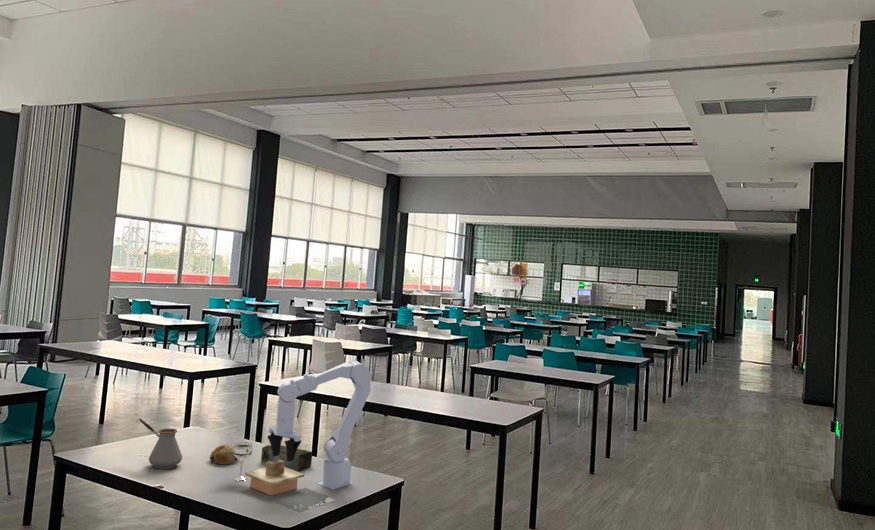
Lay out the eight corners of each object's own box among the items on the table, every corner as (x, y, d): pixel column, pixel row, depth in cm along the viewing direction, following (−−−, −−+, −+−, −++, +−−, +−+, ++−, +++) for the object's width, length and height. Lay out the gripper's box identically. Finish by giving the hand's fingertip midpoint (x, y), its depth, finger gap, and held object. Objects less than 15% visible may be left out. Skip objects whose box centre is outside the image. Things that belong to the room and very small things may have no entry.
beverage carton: (274, 458, 253) (275, 441, 253) (312, 467, 244) (313, 450, 244) (260, 462, 245) (261, 445, 246) (298, 472, 237) (300, 454, 237)
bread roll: (227, 475, 239) (237, 456, 239) (203, 461, 239) (214, 443, 239) (236, 467, 248) (246, 449, 249) (213, 454, 249) (223, 436, 249)
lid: (278, 467, 226) (279, 453, 226) (304, 476, 218) (305, 462, 218) (244, 474, 215) (245, 460, 215) (270, 485, 207) (271, 470, 207)
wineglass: (254, 477, 227) (256, 443, 227) (243, 482, 220) (246, 448, 221) (237, 474, 229) (240, 441, 229) (226, 479, 222) (229, 445, 222)
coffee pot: (188, 465, 236) (191, 424, 236) (163, 472, 225) (166, 430, 226) (148, 454, 245) (151, 415, 245) (122, 461, 235) (125, 420, 235)
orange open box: (276, 481, 224) (277, 468, 224) (296, 489, 217) (297, 476, 217) (250, 488, 215) (251, 475, 215) (270, 497, 209) (271, 483, 209)
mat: (305, 489, 218) (305, 487, 218) (337, 501, 209) (337, 500, 209) (267, 500, 206) (267, 498, 206) (299, 513, 196) (299, 512, 196)
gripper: (262, 416, 219) (260, 455, 219) (290, 424, 210) (287, 465, 210) (279, 413, 225) (276, 451, 225) (306, 421, 216) (303, 461, 216)
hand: (283, 458), depth 218 cm, fingers open, 7 cm apart
